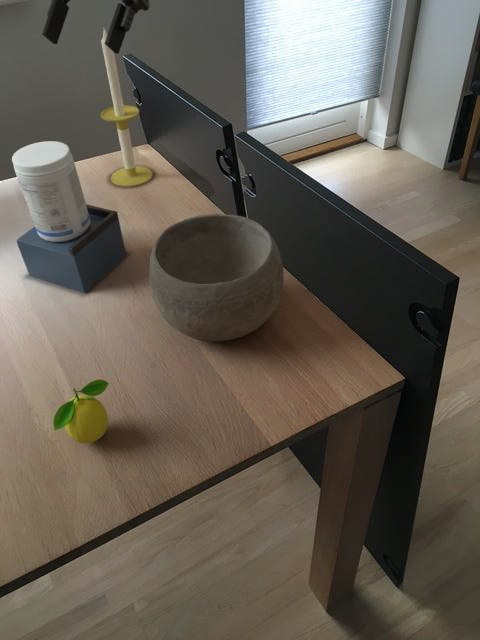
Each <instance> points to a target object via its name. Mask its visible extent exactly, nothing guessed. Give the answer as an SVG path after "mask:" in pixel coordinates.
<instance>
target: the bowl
mask: <svg viewBox="0 0 480 640" xmlns="http://www.w3.org/2000/svg"><path fill="white" fill-rule="evenodd" d="M284 271H285V270H284V264H283V260H282V255H281V252H280V250H279V247H278V245H277V242H276V241H275V239H274V237H273V236H272V235H271V233H270V232H269V231H268V230H267V229H266V228H265V227H264V226H262V225H261V224H260V223H259V222H257V221H255V220H252V219H251V218H249V217H245V216H243V215H235V214H228V213H227V214H226V213H209V214H199V215H196V216H192V217H189V218H185V219H183V220H181V221H178V222H177V223H174V224H172V225H170V226H169V227H167V228H166V229H165V230H163V232H161V234H160V235H159V236H158V237H157V239H156V240H155V242H154V245H153V247H152V249H151V253H150V258H149V272H148V273H149V288H150V293H151V297H152V300H153V302H154V304H155V307H156V309H157V311H158V312H159V313H160V315H161V317H162V318H163V319H164V320H165V321H166V322H167V323H168V324H169V325H170V326H171V327H173V328H174V329H175V330H177V331H178V332H179V333H181V334H183V335H185V336H188V337H189V338H192V339H195V340H198V341H203V342H225V341H233V340H235V339H239V338H242V337H245V336H246V335H249V334H250V333H252V332H254V331H256V330H257V329H259V328H260V327H261V326H262V325H263V324H264V323H265V322H267V320H268V319H269V318H270V317H271V315H272V314H273V313H275V310H276V309H277V307H278V305H279V303H280V300H281V297H282V294H283V289H284V282H285V281H284V279H285V278H284V276H285V275H284V273H285V272H284Z"/></svg>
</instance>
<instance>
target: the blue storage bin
mask: <svg viewBox="0 0 480 640" xmlns="http://www.w3.org/2000/svg"><path fill="white" fill-rule="evenodd" d="M86 206H87V210H88V214H89V217H90V226H89V228H88V229H87V230H86V231H85V232H84V233H83V234H82V235H81V236H79V237H77V238H75V239H72V240H69V241H64V242H51V241H47V240H44V239H43V238H41V237H40V236H39V235H38V233H37V230H36V228H35V226H33V227H32V228H30V229H29V230H27V231H26V232H25V233H24V234H22V235H21V236H19V237H18V238H16V239H15V242H16V244H17V246H18V249H19V252H20V255H21V257H22V261H23V262H24V265H25V268H26V270H27V273H28V276H29V277H33V278H36V279H39V280H41V281H45V282H49V283H51V284H55V285H58V286H62V287H64V288H68V289H71V290H74V291H78V292H81V293H87V291H89V289H91V288H92V286H94V285H95V284H96V283H97V282H98V281H99V280H100V279H102V278H103V276H105V275H106V274H107V273H108V272H109V271H110V270H111V269H112V268H113V267H114V266H116V265H117V263H119V262H120V261H121V260H122V259H123V258H124V257H125V256H126V255H127V251H126V247H125V246H126V245H125V242H124V237H123V232H122V228H121V223H120V219H119V213H118V211H117V210H112V209H108V208H103V207H101V206H95V205H91V204H87V203H86Z"/></svg>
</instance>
